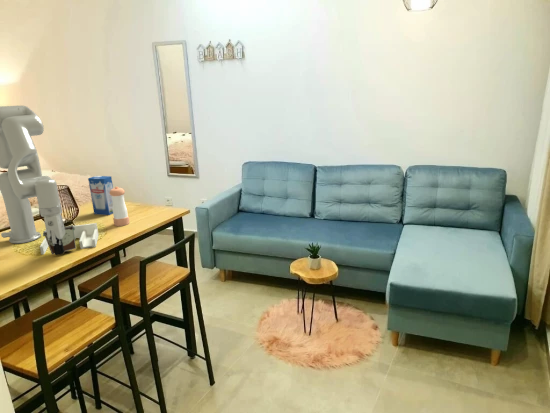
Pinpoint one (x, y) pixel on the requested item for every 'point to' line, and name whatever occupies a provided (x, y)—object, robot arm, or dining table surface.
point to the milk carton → (101, 194)
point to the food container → (64, 239)
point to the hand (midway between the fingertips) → (59, 253)
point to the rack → (80, 236)
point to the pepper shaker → (119, 207)
